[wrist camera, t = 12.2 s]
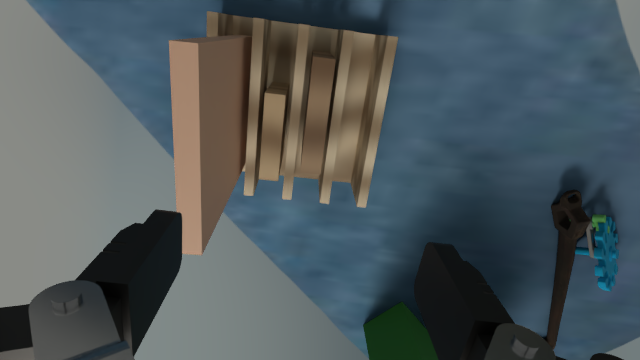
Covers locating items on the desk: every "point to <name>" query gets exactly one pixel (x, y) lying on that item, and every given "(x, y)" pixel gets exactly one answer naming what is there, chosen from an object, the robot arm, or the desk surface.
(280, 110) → the offcut short
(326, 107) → the offcut tall
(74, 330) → the robot arm
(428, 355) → the hardback book
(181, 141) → the tall sheet
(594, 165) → the desk surface
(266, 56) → the rack
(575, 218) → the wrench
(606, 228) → the gear
